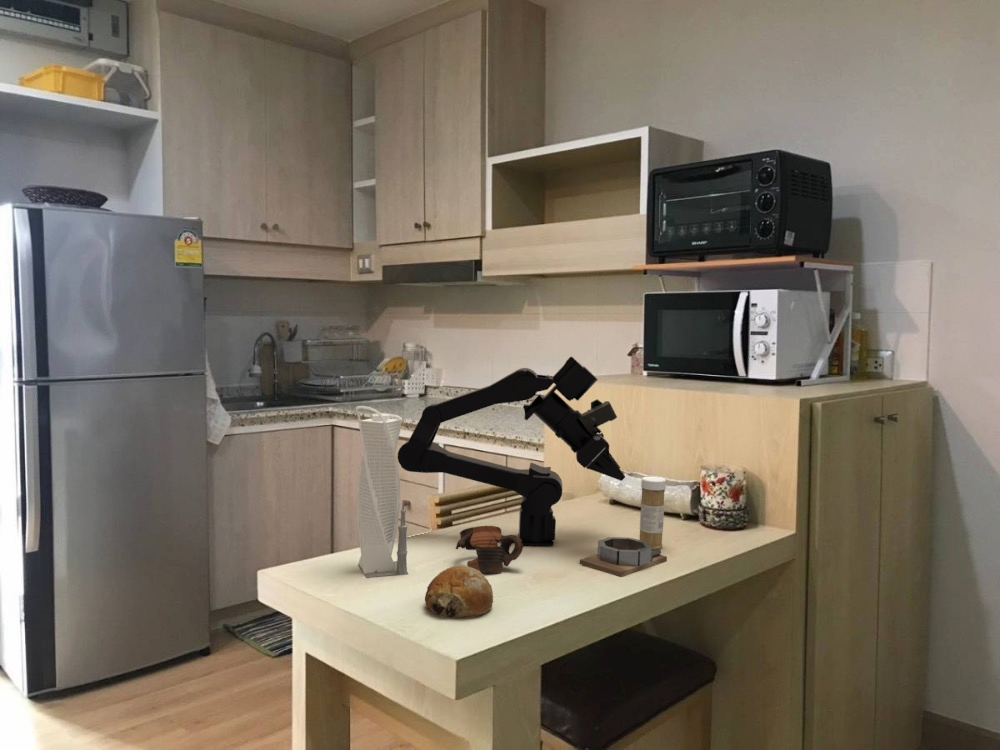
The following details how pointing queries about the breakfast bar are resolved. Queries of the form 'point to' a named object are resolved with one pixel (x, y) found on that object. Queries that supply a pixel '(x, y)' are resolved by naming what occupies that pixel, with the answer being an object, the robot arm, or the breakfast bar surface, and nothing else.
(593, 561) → the walnut board
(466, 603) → the bread roll
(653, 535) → the sprinkles bottle
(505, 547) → the pottery mug
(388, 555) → the skyscraper
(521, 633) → the breakfast bar surface
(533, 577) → the breakfast bar surface
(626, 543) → the collar
